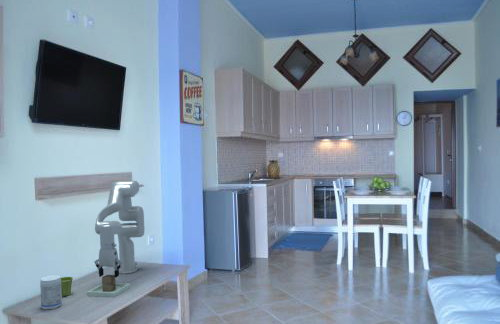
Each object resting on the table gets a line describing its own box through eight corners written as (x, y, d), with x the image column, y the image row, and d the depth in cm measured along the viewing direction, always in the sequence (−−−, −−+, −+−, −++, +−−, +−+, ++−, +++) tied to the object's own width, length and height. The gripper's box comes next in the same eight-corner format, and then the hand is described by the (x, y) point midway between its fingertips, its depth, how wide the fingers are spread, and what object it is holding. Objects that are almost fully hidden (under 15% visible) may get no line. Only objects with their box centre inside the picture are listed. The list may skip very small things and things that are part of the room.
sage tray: (105, 286, 240) (104, 282, 240) (130, 287, 236) (130, 283, 236) (87, 295, 224) (87, 291, 224) (114, 297, 220) (113, 293, 220)
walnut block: (107, 288, 233) (107, 274, 233) (115, 289, 232) (115, 274, 232) (102, 291, 228) (102, 277, 228) (110, 291, 227) (110, 277, 227)
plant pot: (66, 298, 221) (66, 282, 221) (51, 297, 223) (50, 281, 223) (77, 292, 230) (76, 276, 230) (62, 291, 232) (61, 276, 232)
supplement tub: (42, 305, 212) (40, 276, 211) (62, 302, 215) (61, 274, 215) (40, 311, 203) (39, 281, 202) (61, 308, 206) (60, 278, 206)
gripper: (125, 244, 232) (126, 274, 232) (98, 244, 236) (99, 273, 237) (117, 248, 224) (119, 279, 225) (89, 247, 229) (91, 277, 229)
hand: (109, 276), depth 231 cm, fingers open, 9 cm apart
